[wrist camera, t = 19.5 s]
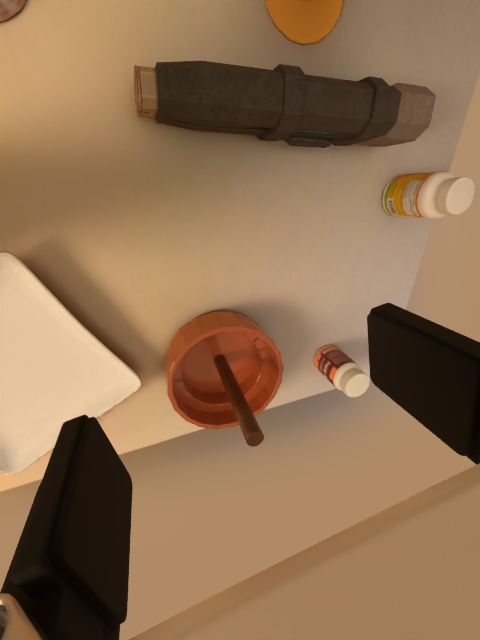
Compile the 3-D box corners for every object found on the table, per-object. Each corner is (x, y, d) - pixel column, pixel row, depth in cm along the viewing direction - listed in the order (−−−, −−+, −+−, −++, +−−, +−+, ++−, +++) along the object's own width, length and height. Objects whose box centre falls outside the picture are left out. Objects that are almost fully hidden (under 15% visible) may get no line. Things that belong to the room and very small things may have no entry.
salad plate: (20, 461, 41) (10, 482, 38) (-150, 356, 32) (-182, 373, 29) (147, 371, 42) (147, 385, 39) (17, 241, 32) (4, 246, 29)
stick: (215, 366, 44) (248, 448, 30) (212, 356, 43) (245, 435, 29) (226, 363, 44) (265, 442, 30) (224, 352, 43) (262, 429, 29)
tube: (137, 60, 31) (398, 81, 36) (145, 136, 35) (380, 146, 40) (119, 46, 23) (467, 76, 27) (133, 148, 27) (435, 159, 31)
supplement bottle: (419, 181, 43) (488, 178, 34) (403, 220, 44) (465, 226, 36) (390, 169, 41) (456, 162, 32) (375, 210, 42) (433, 214, 34)
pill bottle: (311, 350, 48) (341, 378, 41) (337, 340, 49) (371, 366, 42) (315, 374, 51) (344, 404, 43) (340, 364, 51) (373, 392, 44)
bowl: (184, 416, 46) (189, 444, 41) (148, 331, 40) (149, 352, 34) (274, 380, 49) (290, 403, 43) (255, 295, 42) (271, 309, 37)
